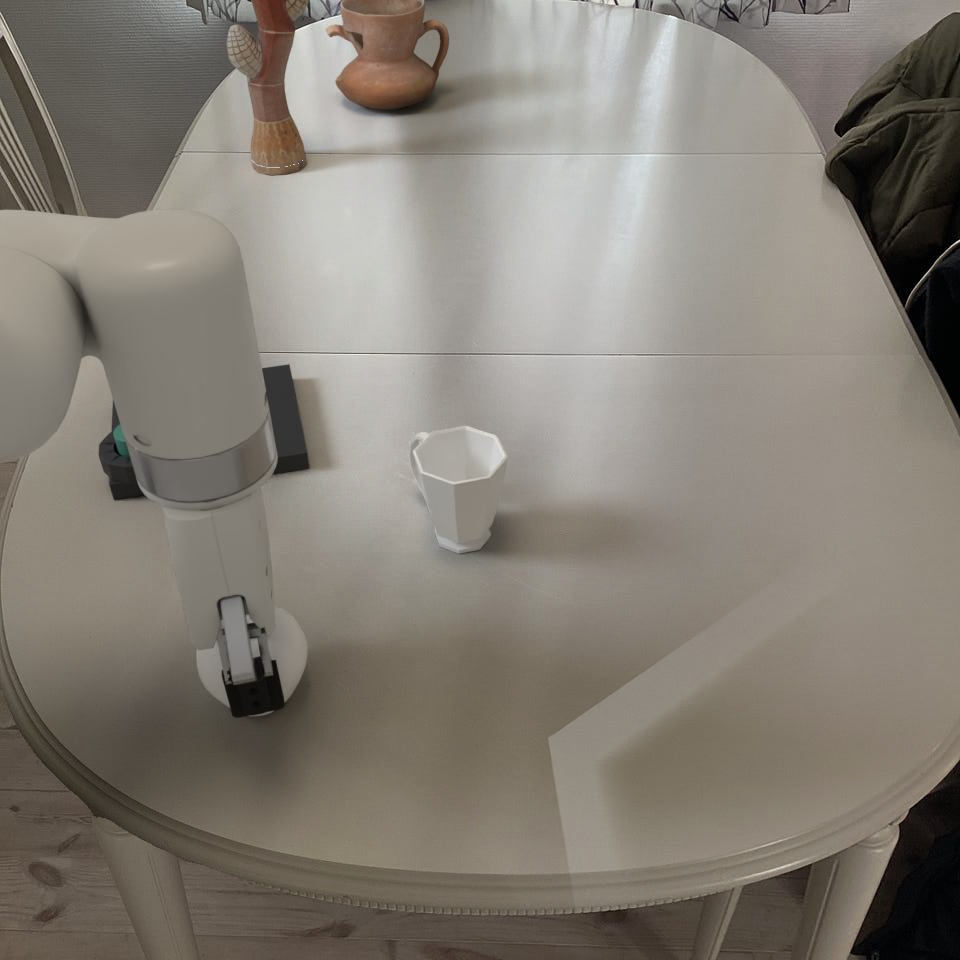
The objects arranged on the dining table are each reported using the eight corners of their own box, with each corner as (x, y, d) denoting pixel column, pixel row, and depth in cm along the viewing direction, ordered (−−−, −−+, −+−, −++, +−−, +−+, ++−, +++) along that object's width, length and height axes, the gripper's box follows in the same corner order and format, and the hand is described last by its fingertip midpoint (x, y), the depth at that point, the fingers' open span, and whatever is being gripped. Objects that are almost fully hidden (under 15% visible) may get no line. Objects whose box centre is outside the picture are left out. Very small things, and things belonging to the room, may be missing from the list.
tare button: (117, 461, 82) (112, 443, 81) (118, 439, 84) (113, 422, 83) (155, 455, 82) (151, 437, 81) (155, 433, 85) (151, 416, 84)
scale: (108, 504, 83) (97, 471, 80) (112, 405, 93) (103, 373, 91) (310, 471, 86) (305, 438, 83) (291, 379, 96) (286, 347, 94)
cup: (453, 579, 76) (450, 497, 70) (378, 510, 82) (370, 430, 77) (526, 538, 79) (527, 457, 74) (448, 475, 85) (445, 396, 80)
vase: (244, 176, 133) (201, -81, 114) (252, 154, 139) (213, -94, 120) (324, 174, 134) (295, -82, 114) (329, 152, 139) (302, -95, 120)
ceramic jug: (335, 122, 148) (324, 18, 139) (331, 88, 159) (321, -9, 150) (457, 114, 150) (455, 11, 141) (445, 81, 161) (442, -16, 152)
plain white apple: (201, 740, 65) (175, 658, 60) (214, 655, 70) (192, 572, 65) (311, 732, 65) (296, 649, 60) (316, 648, 71) (302, 565, 65)
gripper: (132, 368, 60) (190, 580, 71) (128, 567, 47) (200, 788, 58) (260, 350, 62) (297, 560, 73) (290, 539, 49) (330, 760, 60)
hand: (253, 660), depth 66 cm, fingers closed on plain white apple, 7 cm apart
